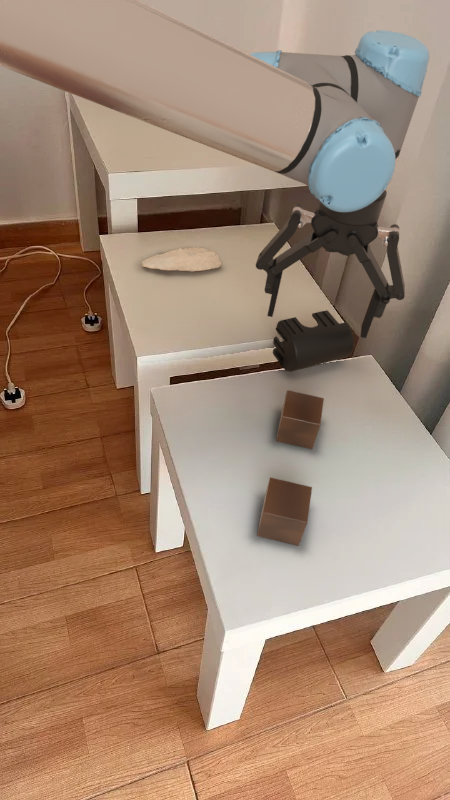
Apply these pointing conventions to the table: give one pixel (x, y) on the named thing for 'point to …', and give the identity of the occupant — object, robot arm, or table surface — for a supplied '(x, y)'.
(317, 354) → the end cap
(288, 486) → the walnut block near
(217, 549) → the table surface
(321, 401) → the walnut block middle
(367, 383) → the table surface
